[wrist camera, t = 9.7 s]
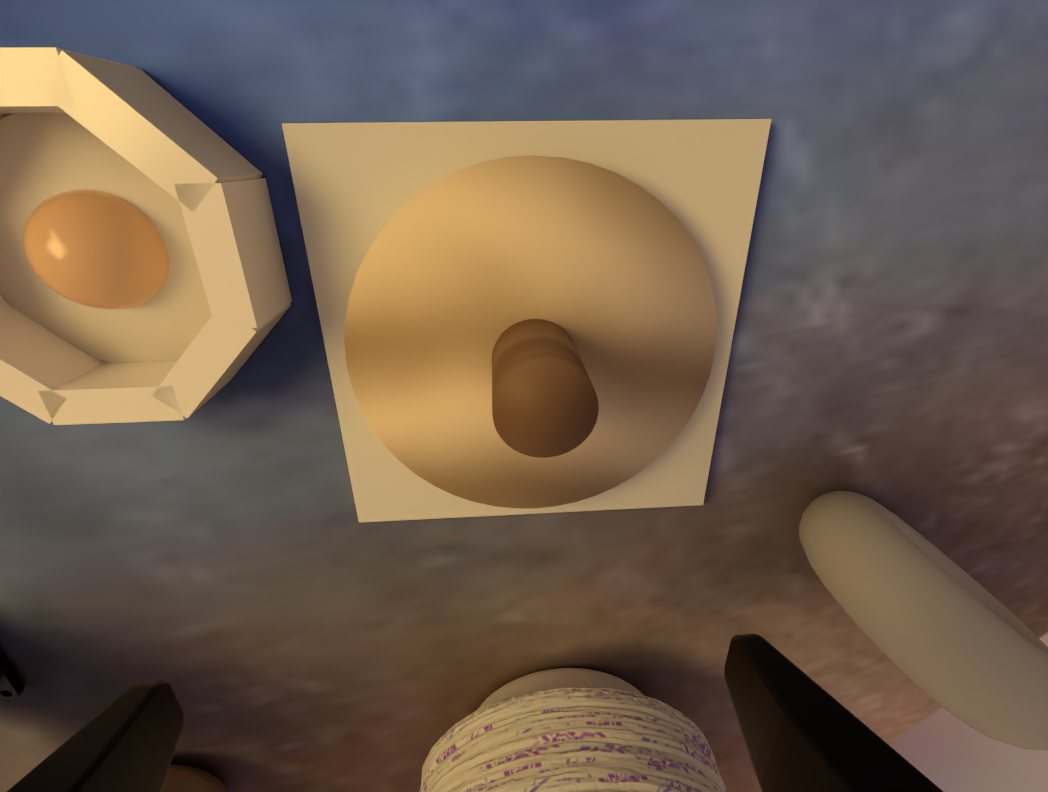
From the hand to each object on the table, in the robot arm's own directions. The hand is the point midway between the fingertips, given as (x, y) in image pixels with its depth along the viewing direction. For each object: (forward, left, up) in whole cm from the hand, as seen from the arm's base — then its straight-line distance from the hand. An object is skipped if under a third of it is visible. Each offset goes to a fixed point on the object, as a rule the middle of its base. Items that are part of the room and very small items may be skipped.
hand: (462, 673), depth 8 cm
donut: (-8, -17, -13) cm, 22 cm away
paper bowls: (-22, -4, -13) cm, 26 cm away
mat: (+1, -2, -13) cm, 13 cm away
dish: (+5, +11, -13) cm, 18 cm away
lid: (+1, -2, -12) cm, 12 cm away
